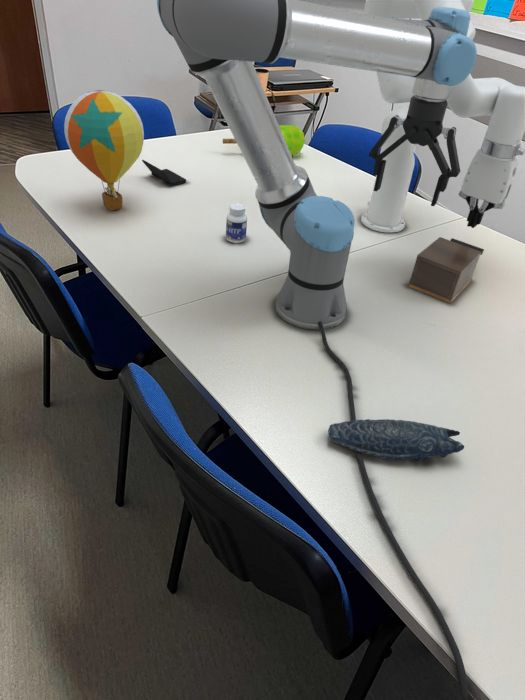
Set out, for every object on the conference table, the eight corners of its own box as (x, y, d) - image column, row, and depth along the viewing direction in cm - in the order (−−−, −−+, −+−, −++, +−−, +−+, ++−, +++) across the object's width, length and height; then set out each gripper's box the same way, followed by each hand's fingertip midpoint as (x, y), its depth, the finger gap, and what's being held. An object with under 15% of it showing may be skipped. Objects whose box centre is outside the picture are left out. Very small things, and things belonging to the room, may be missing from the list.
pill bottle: (222, 240, 135) (223, 208, 129) (230, 232, 139) (231, 200, 133) (241, 244, 134) (243, 212, 128) (248, 236, 138) (250, 204, 132)
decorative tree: (219, 118, 187) (300, 118, 192) (219, 148, 194) (297, 147, 199) (226, 133, 174) (312, 132, 179) (226, 164, 180) (309, 163, 185)
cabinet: (430, 266, 133) (439, 236, 127) (470, 281, 128) (481, 251, 123) (408, 286, 124) (417, 255, 119) (450, 303, 119) (461, 271, 114)
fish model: (462, 473, 80) (472, 452, 77) (326, 456, 81) (331, 434, 78) (454, 441, 86) (463, 420, 82) (327, 425, 86) (331, 403, 83)
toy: (64, 203, 145) (44, 85, 127) (127, 189, 156) (117, 79, 137) (97, 229, 134) (80, 105, 116) (162, 213, 145) (156, 96, 126)
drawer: (445, 253, 137) (452, 231, 133) (480, 266, 133) (488, 243, 129) (417, 278, 125) (424, 255, 121) (453, 293, 121) (462, 269, 117)
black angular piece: (190, 175, 164) (173, 153, 156) (179, 193, 163) (161, 172, 155) (166, 170, 170) (147, 148, 162) (155, 188, 169) (136, 167, 161)
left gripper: (495, 105, 105) (462, 205, 119) (378, 83, 114) (360, 178, 127) (488, 113, 100) (455, 216, 113) (366, 89, 108) (348, 188, 122)
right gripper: (538, 153, 114) (507, 230, 125) (472, 137, 121) (448, 211, 132) (528, 161, 109) (497, 240, 121) (460, 143, 116) (437, 220, 127)
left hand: (404, 196), depth 120 cm, fingers open, 13 cm apart
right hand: (472, 225), depth 126 cm, fingers closed
